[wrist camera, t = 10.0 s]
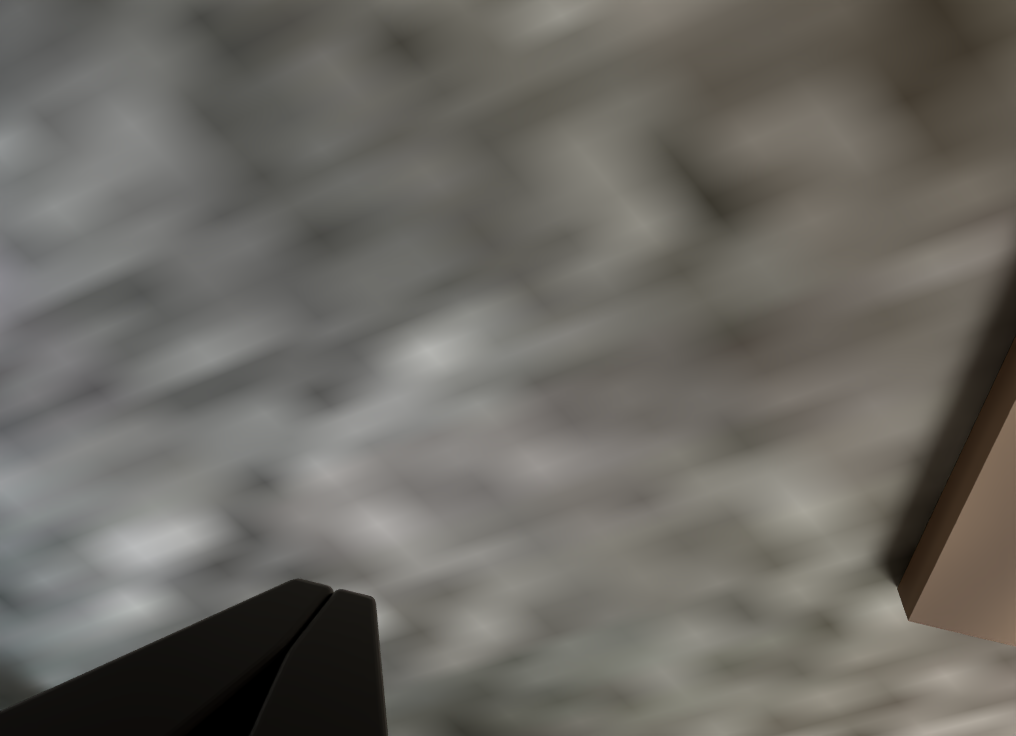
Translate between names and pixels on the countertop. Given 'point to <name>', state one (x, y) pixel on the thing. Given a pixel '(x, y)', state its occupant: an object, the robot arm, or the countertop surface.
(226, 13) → the countertop surface
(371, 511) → the countertop surface
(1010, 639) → the valve stand
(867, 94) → the countertop surface
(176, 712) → the robot arm
